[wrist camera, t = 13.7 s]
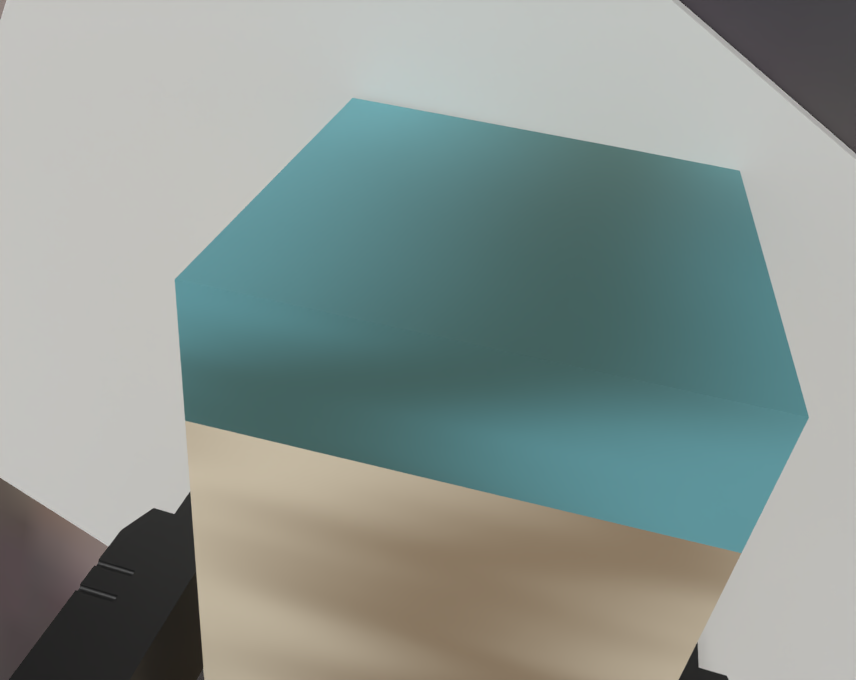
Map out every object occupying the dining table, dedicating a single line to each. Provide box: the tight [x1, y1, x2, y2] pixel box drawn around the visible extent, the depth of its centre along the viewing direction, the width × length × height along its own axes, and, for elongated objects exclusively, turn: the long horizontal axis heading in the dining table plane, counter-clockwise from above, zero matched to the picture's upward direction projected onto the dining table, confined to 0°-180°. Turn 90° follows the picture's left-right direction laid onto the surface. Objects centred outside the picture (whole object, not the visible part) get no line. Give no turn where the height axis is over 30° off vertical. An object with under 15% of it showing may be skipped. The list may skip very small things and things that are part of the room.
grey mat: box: [0, 0, 856, 680], centre depth 14 cm, size 19×15×1 cm
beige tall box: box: [175, 98, 809, 680], centre depth 12 cm, size 5×5×12 cm
